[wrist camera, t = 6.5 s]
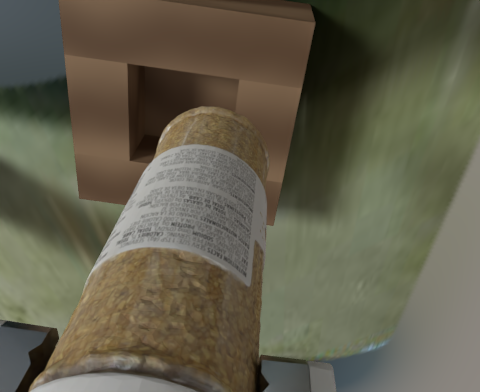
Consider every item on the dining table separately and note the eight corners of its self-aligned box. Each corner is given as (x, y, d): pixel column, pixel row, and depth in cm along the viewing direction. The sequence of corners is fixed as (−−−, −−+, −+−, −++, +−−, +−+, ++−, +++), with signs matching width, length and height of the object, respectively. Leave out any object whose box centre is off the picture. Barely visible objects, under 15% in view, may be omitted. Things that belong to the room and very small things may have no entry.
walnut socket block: (90, -28, 28) (57, -15, 24) (310, 4, 28) (315, 22, 24) (102, 163, 36) (79, 198, 32) (274, 187, 36) (273, 226, 32)
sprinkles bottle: (237, 219, 19) (181, 652, 8) (140, 173, 18) (-79, 588, 7) (292, 136, 17) (325, 578, 6) (185, 78, 16) (-32, 469, 5)
